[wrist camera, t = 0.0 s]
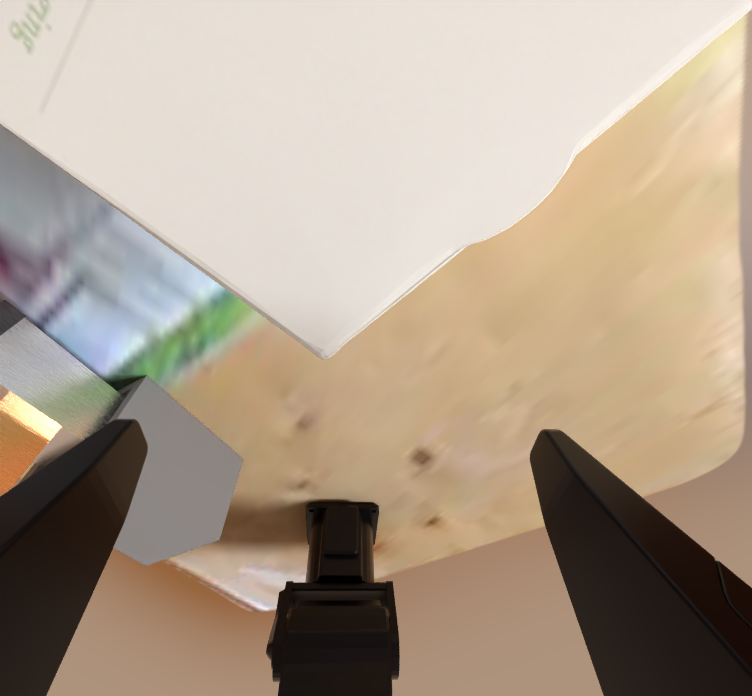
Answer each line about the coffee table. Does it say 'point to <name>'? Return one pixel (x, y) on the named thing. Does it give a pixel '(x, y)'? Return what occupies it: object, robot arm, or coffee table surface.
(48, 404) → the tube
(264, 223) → the skincare box
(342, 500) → the coffee table surface
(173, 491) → the sleeve
